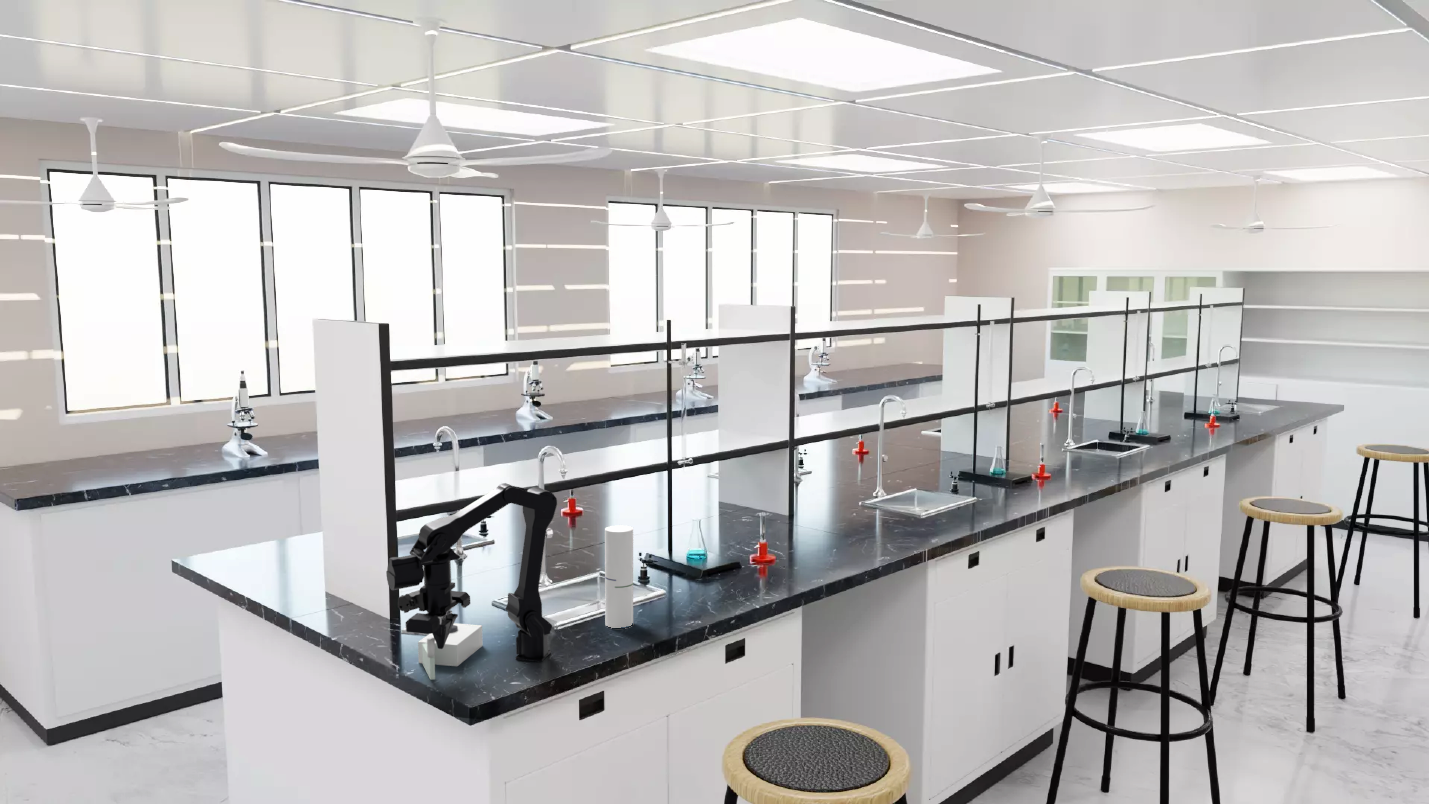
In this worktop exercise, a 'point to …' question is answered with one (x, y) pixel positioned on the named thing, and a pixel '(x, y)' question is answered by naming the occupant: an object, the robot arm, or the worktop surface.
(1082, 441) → the worktop surface
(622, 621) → the cylindrical container
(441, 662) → the instrument case
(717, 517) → the worktop surface
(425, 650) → the side door
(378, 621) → the worktop surface
